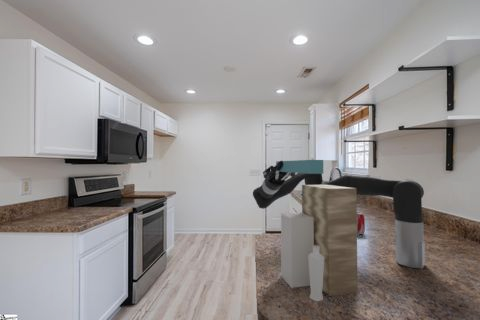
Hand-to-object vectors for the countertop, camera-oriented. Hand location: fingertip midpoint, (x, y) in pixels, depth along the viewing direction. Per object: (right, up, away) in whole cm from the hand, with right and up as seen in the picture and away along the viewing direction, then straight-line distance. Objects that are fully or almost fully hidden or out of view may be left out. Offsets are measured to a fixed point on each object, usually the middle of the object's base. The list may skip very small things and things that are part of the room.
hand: (287, 162), depth 87 cm
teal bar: (+2, -3, -7) cm, 7 cm away
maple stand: (+12, -40, -8) cm, 43 cm away
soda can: (+51, -42, +49) cm, 82 cm away
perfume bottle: (+5, -40, -18) cm, 44 cm away
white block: (+2, -40, -8) cm, 41 cm away
